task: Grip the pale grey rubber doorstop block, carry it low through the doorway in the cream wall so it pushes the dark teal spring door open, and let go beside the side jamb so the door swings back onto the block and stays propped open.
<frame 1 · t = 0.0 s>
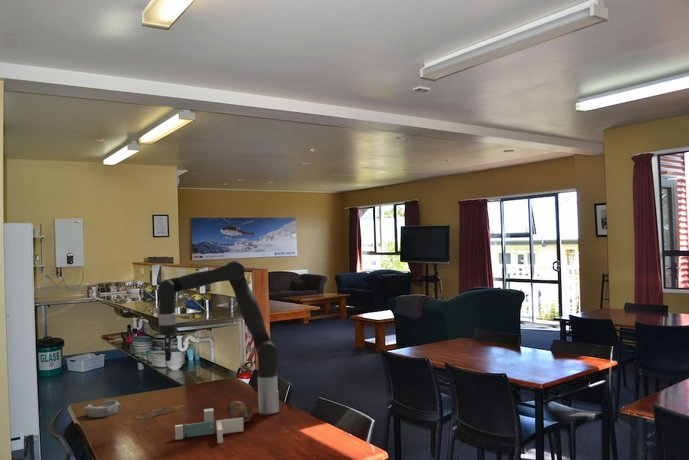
hand: (168, 358, 244), 29 cm above the table, tool pointing down, fingers open, 8 cm apart
tin: (240, 421, 244), on the table
dish: (103, 414, 261), on the table
door: (199, 429, 225), point 3 cm above the table, hinge at 0.0°
doorstop block: (209, 425, 238), on the table
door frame: (209, 434, 226), on the table
wooden fragment: (160, 413, 261), on the table
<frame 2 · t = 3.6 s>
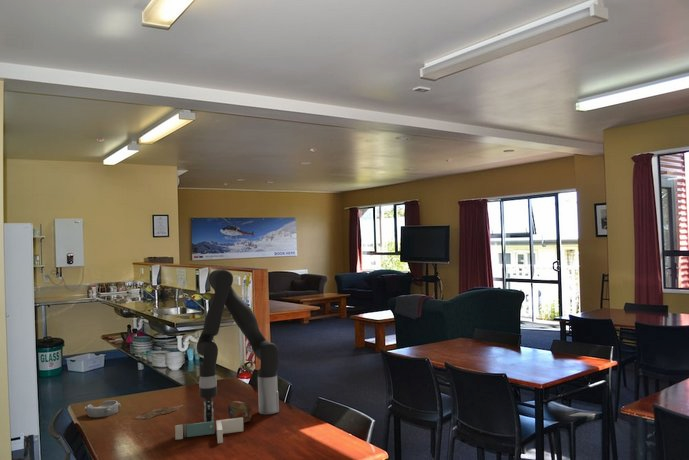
hand: (208, 423, 238), 1 cm above the table, tool pointing down, fingers closed on doorstop block, 4 cm apart
doorstop block: (209, 425, 238), on the table, touching gripper
everything else where it was.
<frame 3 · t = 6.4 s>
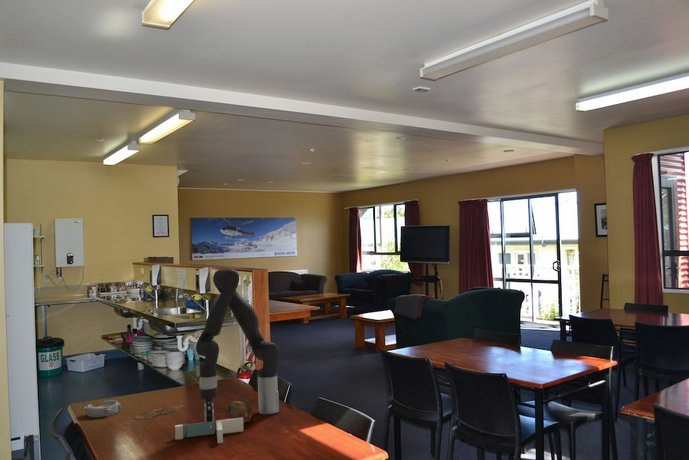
hand: (209, 425, 231), 2 cm above the table, tool pointing down, fingers closed on doorstop block, 4 cm apart
door: (199, 429, 225), point 3 cm above the table, hinge at 0.8°, touching gripper
doorstop block: (209, 427, 231), point 1 cm above the table, touching gripper
everything else where it was.
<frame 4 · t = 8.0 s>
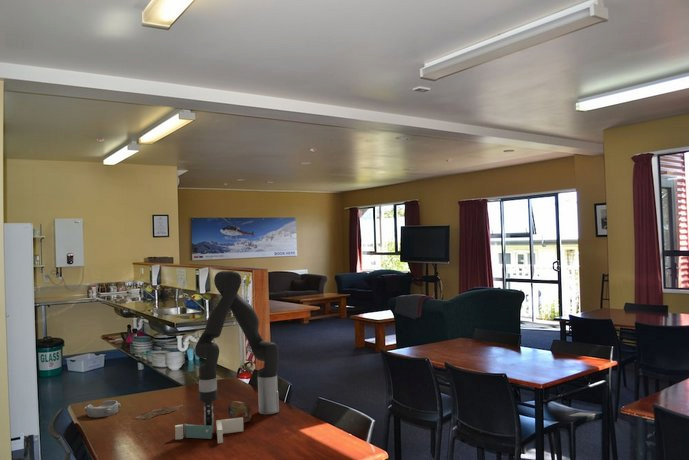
hand: (209, 429, 226), 2 cm above the table, tool pointing down, fingers closed on doorstop block, 4 cm apart
door: (197, 431, 222), point 3 cm above the table, hinge at 28.7°, touching gripper
doorstop block: (209, 431, 226), point 1 cm above the table, touching gripper
everything else where it was.
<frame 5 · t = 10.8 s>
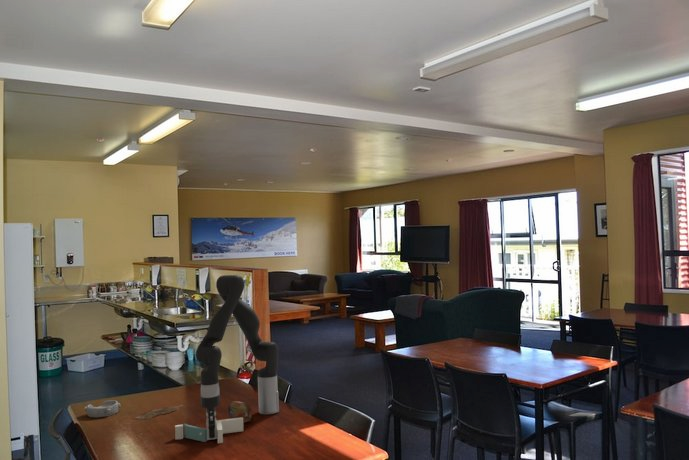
hand: (211, 435, 219), 2 cm above the table, tool pointing down, fingers closed on doorstop block, 4 cm apart
door: (194, 432, 220), point 3 cm above the table, hinge at 47.8°, touching doorstop block
doorstop block: (211, 437, 219), point 1 cm above the table, touching door, gripper
everything else where it was.
when the fingers open (2 cm above the table, at t = 12.2 s): doorstop block stays where it is, resting on door, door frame.
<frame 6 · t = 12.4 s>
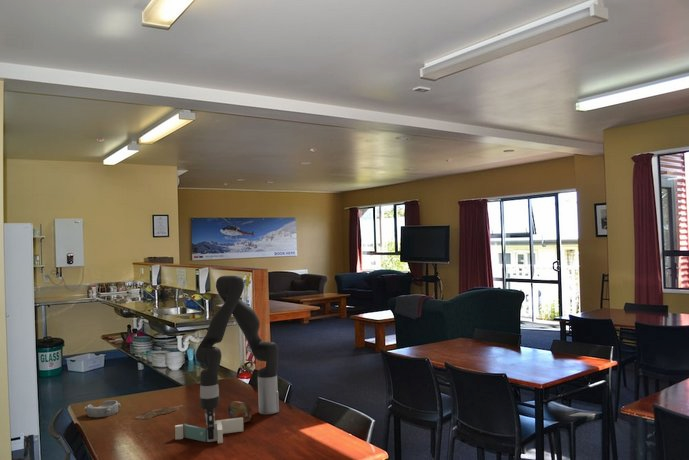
hand: (210, 436, 218), 2 cm above the table, tool pointing down, fingers open, 5 cm apart
door: (194, 432, 220), point 3 cm above the table, hinge at 46.5°, touching doorstop block
doorstop block: (212, 439, 219), point 1 cm above the table, touching door, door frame
everything else where it was.
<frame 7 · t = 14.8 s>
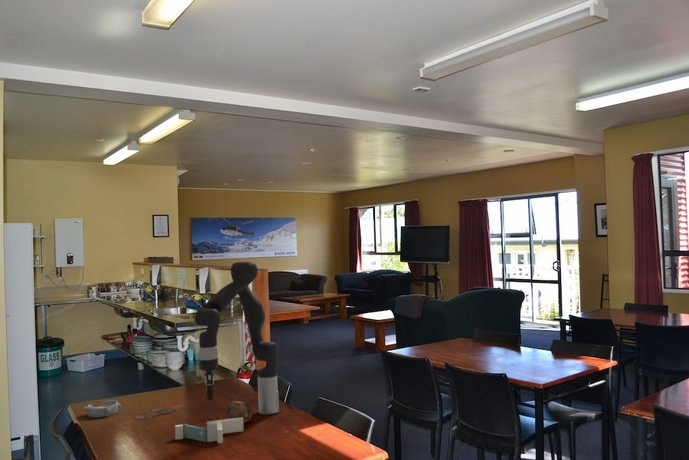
hand: (209, 396, 219), 18 cm above the table, tool pointing down, fingers open, 8 cm apart
nothing on the table moved.
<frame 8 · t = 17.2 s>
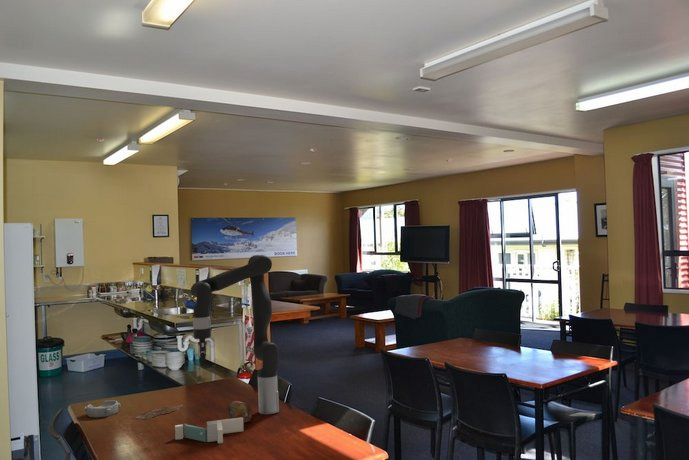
hand: (202, 363, 236), 28 cm above the table, tool pointing down, fingers open, 8 cm apart
nothing on the table moved.
at the end: door at +46° (first picture: +0°); doorstop block inside the target area (0.2 cm from its centre), point 0.5 cm above the table; the gripper is holding nothing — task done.
